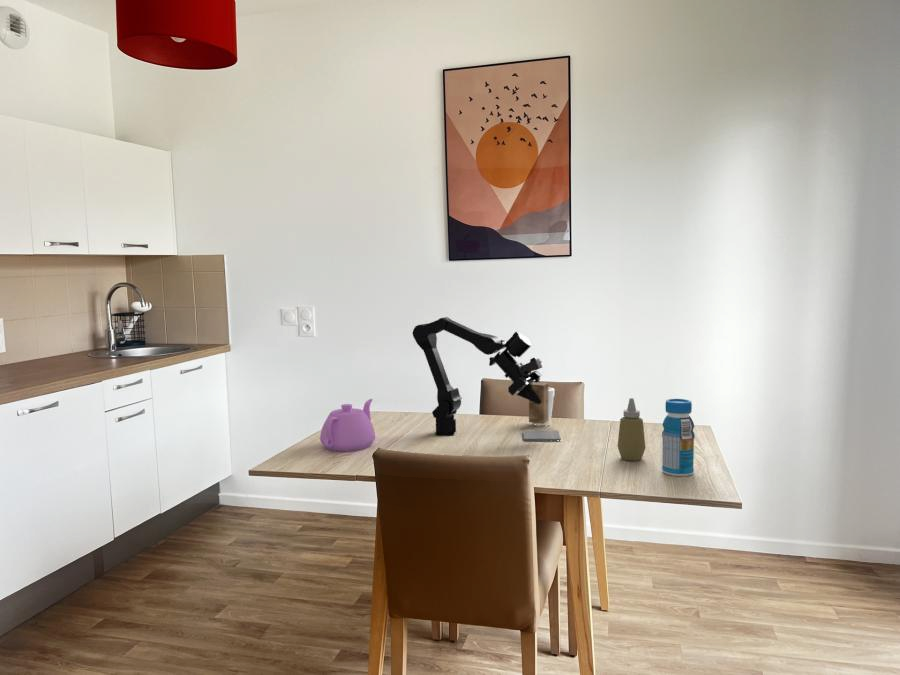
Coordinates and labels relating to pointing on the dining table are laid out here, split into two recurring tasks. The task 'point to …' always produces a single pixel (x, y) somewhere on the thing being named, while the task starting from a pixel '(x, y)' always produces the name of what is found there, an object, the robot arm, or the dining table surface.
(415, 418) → the dining table surface
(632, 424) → the squeeze bottle
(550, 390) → the foam cup
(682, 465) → the beverage bottle
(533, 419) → the walnut block
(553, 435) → the slate coaster
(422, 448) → the dining table surface
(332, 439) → the teapot
